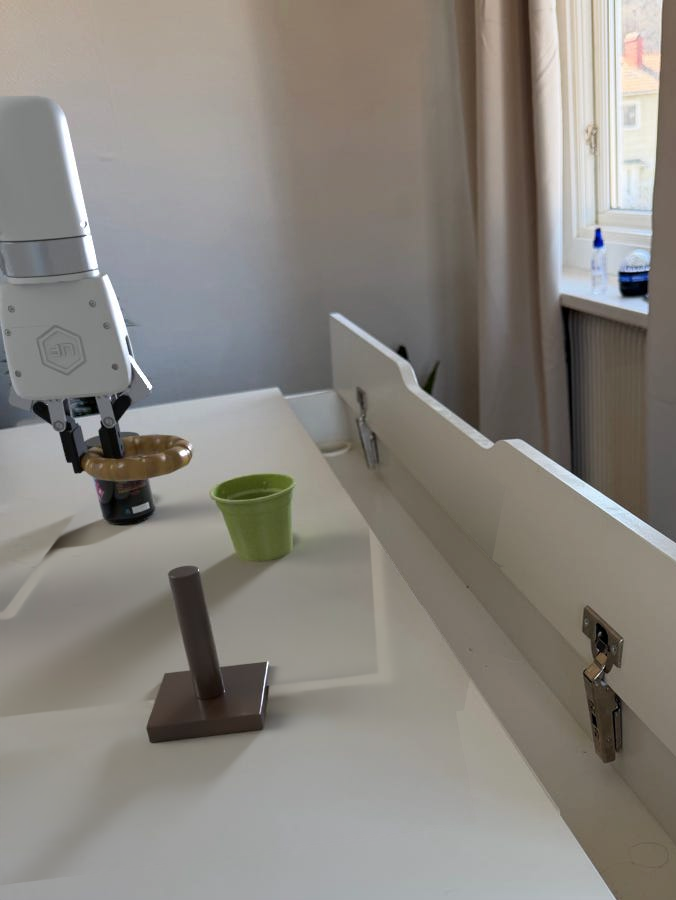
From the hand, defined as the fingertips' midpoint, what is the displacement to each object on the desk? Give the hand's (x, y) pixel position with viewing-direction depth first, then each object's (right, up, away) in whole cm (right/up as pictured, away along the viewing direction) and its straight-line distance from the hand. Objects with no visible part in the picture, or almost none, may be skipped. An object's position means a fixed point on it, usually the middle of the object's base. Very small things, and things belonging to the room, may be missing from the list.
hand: (98, 466), depth 92 cm
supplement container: (-10, 0, +36) cm, 37 cm away
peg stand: (+14, -22, -10) cm, 28 cm away
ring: (+4, +1, 0) cm, 4 cm away
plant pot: (+12, -7, +19) cm, 24 cm away
